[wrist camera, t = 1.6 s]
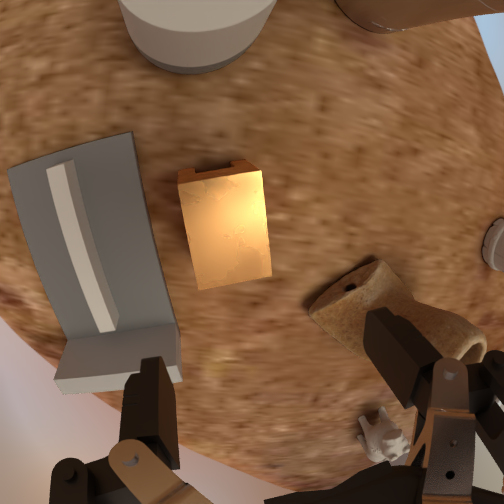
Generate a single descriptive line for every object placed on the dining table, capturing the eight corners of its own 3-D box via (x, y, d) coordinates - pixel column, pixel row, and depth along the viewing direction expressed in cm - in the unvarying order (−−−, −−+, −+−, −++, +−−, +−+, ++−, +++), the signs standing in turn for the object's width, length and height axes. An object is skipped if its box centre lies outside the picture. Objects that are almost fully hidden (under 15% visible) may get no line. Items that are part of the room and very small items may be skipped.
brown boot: (429, 300, 38) (501, 368, 25) (364, 361, 40) (420, 443, 27) (381, 225, 32) (483, 296, 19) (299, 303, 34) (363, 410, 20)
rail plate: (11, 167, 22) (-30, 185, 16) (132, 131, 24) (115, 136, 17) (77, 348, 31) (62, 394, 24) (180, 332, 32) (182, 381, 26)
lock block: (178, 170, 26) (177, 184, 20) (244, 159, 27) (261, 170, 21) (195, 256, 29) (198, 290, 24) (255, 245, 30) (272, 275, 25)
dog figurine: (386, 391, 45) (419, 439, 35) (381, 430, 50) (406, 471, 41) (357, 405, 44) (386, 456, 35) (356, 441, 50) (379, 485, 40)
